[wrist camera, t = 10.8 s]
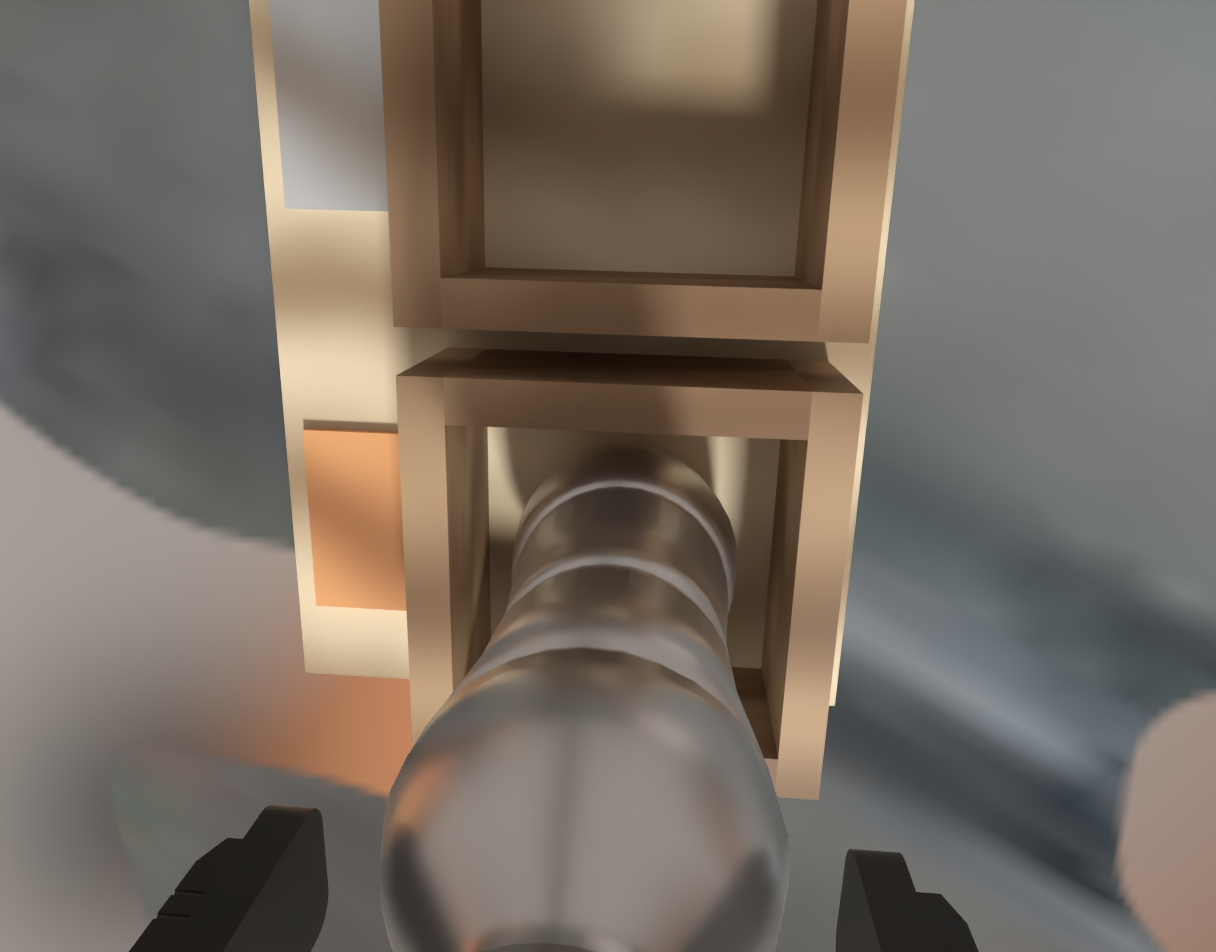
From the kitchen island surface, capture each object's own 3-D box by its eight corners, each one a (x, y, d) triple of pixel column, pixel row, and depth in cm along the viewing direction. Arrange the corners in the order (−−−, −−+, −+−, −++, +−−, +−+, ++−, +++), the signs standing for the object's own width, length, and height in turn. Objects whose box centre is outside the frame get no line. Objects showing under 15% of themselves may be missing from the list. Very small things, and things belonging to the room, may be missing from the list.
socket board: (255, -121, 24) (121, -229, 18) (919, -121, 23) (1000, -237, 17) (317, 658, 31) (234, 758, 25) (829, 689, 29) (865, 803, 24)
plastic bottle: (733, 426, 26) (900, 986, 7) (729, 629, 28) (852, 1504, 9) (523, 427, 27) (141, 954, 7) (533, 626, 29) (249, 1451, 9)
